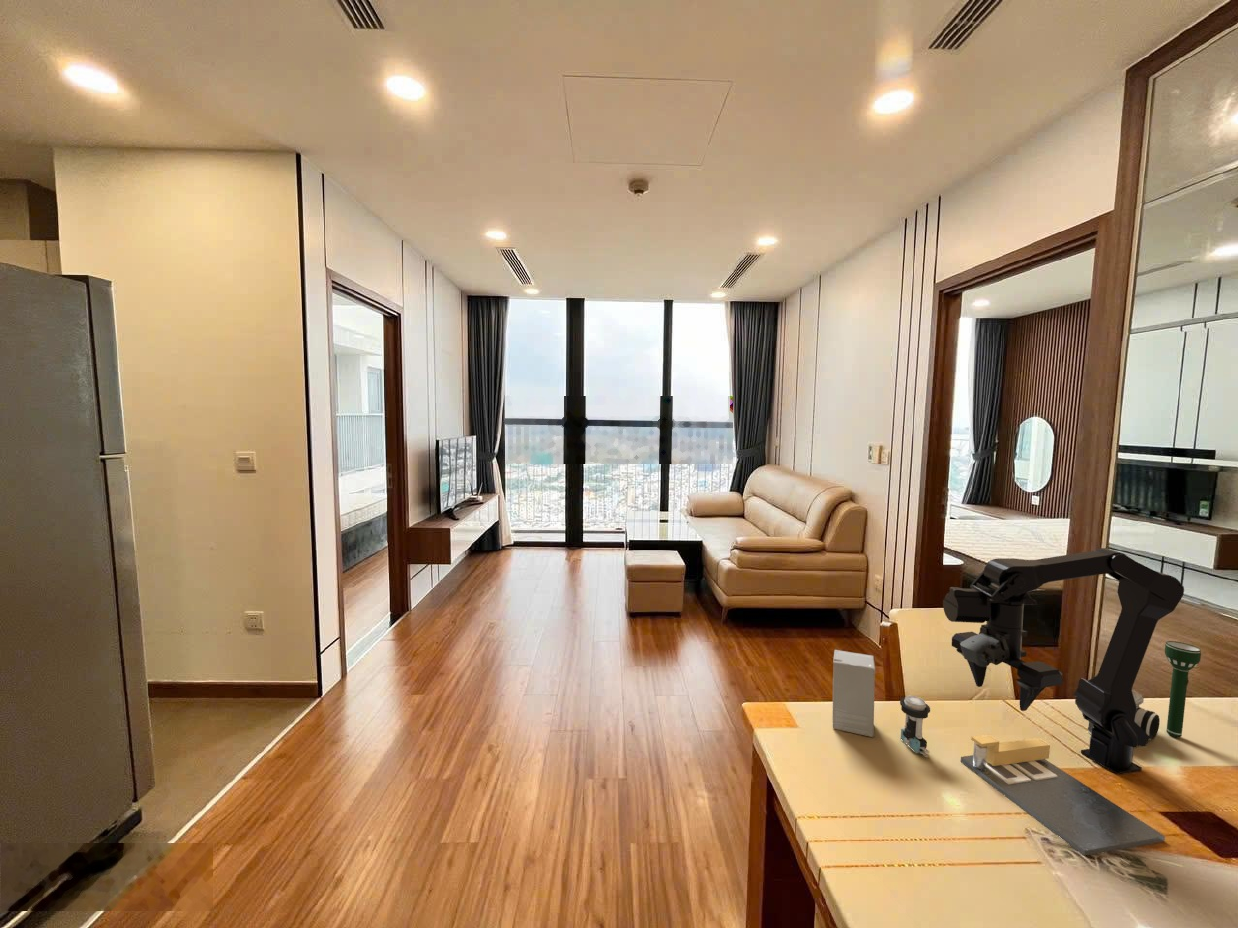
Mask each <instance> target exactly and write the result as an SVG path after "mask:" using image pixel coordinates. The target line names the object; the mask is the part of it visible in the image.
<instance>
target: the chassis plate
mask: <svg viewBox="0 0 1238 928" xmlns="http://www.w3.org/2000/svg"><path fill="white" fill-rule="evenodd" d="M1035 761H1036V762H1037V763H1039V764H1040V765H1042V766H1043V767H1045V768H1046V769H1048V770H1050V771H1051V772H1053V773H1054V774H1056V775H1057V777H1055V778H1049V779H1042V780H1034V779H1032V778H1031V777H1030V776H1028V775H1027V774H1025V773H1024V772H1022V771H1021V770H1020V769H1018V768H1017V767H1015V766H1014V765H1012V764H1009V765H1011V766H1012V767H1014V768H1015V769H1017V770H1018V771H1019V772H1021V773H1022V774H1024V775H1025V776H1027V777H1028V778H1029V779H1031V781H1028V782H1021V783H1015V784H1007V783H1006V782H1004V781H1003V780H1002V779H1000V778H999V777H998V776H996V775H995V774H994V773H992V772H991V771H990V770H988V769H987V768H985V770H979V769H977V768H975V767H974V766H973V754H972V755H964V756H961V757H960V762H961V763H962V764H963V765H964V766H966V767H967V768H968V769H970V770H971V771H973V772H974V773H975V774H976V775H977V776H978V777H980V778H981V779H982V780H984V781H985V782H986V783H988V784H989V785H990V786H992V787H993V788H994V789H995V790H997V791H998V792H999V793H1001V794H1002V795H1003V796H1004V797H1006V798H1008V799H1009V800H1010V801H1011V802H1012V803H1014V804H1015V805H1016V806H1017V807H1019V808H1020V809H1022V810H1023V811H1025V812H1026V813H1027V814H1028V815H1029V816H1030V817H1032V818H1034V819H1035V820H1036V821H1037V822H1039V823H1040V824H1041V825H1042V826H1044V827H1045V828H1047V829H1048V831H1049V830H1050V832H1052V833H1053V834H1054V835H1056V836H1057V835H1058V836H1057V837H1059V836H1060V837H1061V838H1062V839H1064V840H1065V841H1066V842H1068V843H1069V844H1070V845H1071V846H1070V845H1069V844H1068V843H1067V844H1068V845H1069V846H1070V847H1072V846H1073V847H1074V848H1075V849H1074V848H1073V847H1072V848H1073V849H1074V850H1076V851H1077V852H1078V851H1079V854H1081V855H1082V856H1084V857H1086V855H1087V856H1092V855H1098V854H1103V853H1102V852H1104V853H1107V852H1113V851H1114V852H1115V851H1120V850H1125V849H1131V848H1134V847H1135V848H1136V847H1141V846H1146V845H1152V844H1153V845H1154V844H1158V843H1163V842H1165V840H1166V839H1165V838H1166V836H1165V835H1164V834H1163V833H1161V832H1159V831H1157V830H1156V829H1155V828H1153V827H1151V826H1150V825H1149V824H1147V823H1146V822H1143V820H1141V819H1139V818H1137V817H1136V816H1134V815H1133V814H1132V813H1130V812H1129V811H1126V810H1125V809H1124V808H1122V807H1121V806H1119V805H1118V804H1116V803H1115V802H1113V801H1111V800H1110V799H1108V798H1106V797H1105V796H1103V794H1100V793H1099V792H1097V791H1096V790H1094V789H1092V788H1091V787H1090V786H1088V785H1086V784H1084V783H1083V782H1082V781H1080V780H1078V779H1077V778H1075V777H1073V776H1072V775H1071V774H1069V773H1067V772H1066V771H1064V770H1063V769H1061V768H1060V767H1058V765H1055V764H1053V763H1052V762H1050V761H1049V760H1047V759H1042V760H1035ZM1060 837H1059V838H1060ZM1061 838H1060V839H1061ZM1062 839H1061V840H1062ZM1064 840H1063V841H1064ZM1065 841H1064V842H1065ZM1066 842H1065V843H1066ZM1091 854H1092V855H1091Z"/></svg>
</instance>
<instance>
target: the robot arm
mask: <svg viewBox="0 0 1238 928" xmlns="http://www.w3.org/2000/svg"><path fill="white" fill-rule="evenodd" d="M1106 574H1107V575H1108V576H1109V577H1110V578H1113V579H1114V580H1116V581H1118V585H1117V595H1118V598H1119V599H1118V600H1119V602H1120V606H1121V610H1120V612H1119V613H1120V614H1119V616H1118V619H1117V621H1116V624H1115V627H1114V630H1113V632H1112V634H1111V635H1112V636H1111V637H1110V641H1109V643H1108V646H1107V649H1106V652H1105V653H1104V656H1103V660H1102V662H1101V665H1100V668H1099V671H1098V673H1097V674H1096V675H1095V676H1093V677H1092V678H1090V679H1088V680H1087V679H1086V678H1083V677H1080V679H1079V680H1078V684H1077V688H1076V690H1075V691H1074V692H1073V694H1072V695H1073V696H1074V697H1075V698H1074V702H1075V705H1076V707H1077V708H1078V710H1079V711H1080V712H1081V713H1082V717H1083V719H1084V720H1086V721H1088V723H1089V722H1090V723H1092V724H1093V728H1092V731H1091V735H1090V738H1089V748H1086V749H1080V753H1081V754H1082V755H1083V756H1084V757H1087V758H1088V759H1090V760H1091V761H1094V762H1095V763H1097V764H1099V765H1101V766H1102V767H1104V768H1106V769H1107V770H1109V771H1111V772H1112V773H1114V774H1118V775H1119V774H1126V773H1127V774H1128V773H1132V772H1138V771H1140V772H1141V771H1142V769H1143V768H1142V766H1141V765H1138V764H1137V763H1135V762H1133V759H1134V749H1135V748H1136V749H1137V748H1138V747H1146V746H1147V743H1148V742H1149V741H1150V740H1149V739H1150V736H1149V735H1148V734H1147V733H1146V732H1145V731H1144V730H1143V729H1142V728H1141V727H1140V726H1139V725H1138V724H1137V723H1136V722H1135V715H1136V709H1137V707H1136V703H1135V700H1134V696H1133V692H1132V689H1133V686H1134V684H1135V681H1136V679H1137V676H1138V674H1139V671H1140V668H1141V666H1142V663H1143V661H1144V658H1145V655H1146V653H1147V649H1148V648H1149V645H1150V643H1151V639H1152V636H1153V634H1154V632H1155V628H1156V626H1157V623H1158V621H1160V620H1161V619H1162V618H1164V617H1166V616H1167V615H1169V614H1171V613H1173V612H1174V611H1175V610H1176V608H1177V607H1178V605H1179V603H1180V601H1181V600H1182V598H1183V597H1184V593H1185V587H1184V585H1183V584H1182V583H1181V581H1180V580H1179V579H1178V578H1177V577H1175V576H1172V575H1169V574H1166V573H1163V572H1160V571H1157V570H1154V569H1151V568H1150V567H1148V566H1146V565H1144V564H1142V563H1140V562H1138V561H1136V560H1135V559H1132V557H1130V556H1128V555H1127V554H1125V553H1123V552H1119V551H1116V550H1113V549H1110V548H1106V547H1101V548H1097V549H1094V550H1089V551H1088V550H1087V551H1084V552H1076V553H1071V554H1064V555H1056V556H1052V557H1044V558H1039V559H1022V558H1009V557H1008V558H1001V557H1000V558H993V559H990V560H989V561H987V564H985V566H984V568H983V571H982V572H981V573H980V574H979V575H978V576H977V577H976V578H975V579H974V581H973V582H972V583H971V584H970V585H969V587H970V588H965V587H964V588H961V587H956V586H950V587H949V591H948V592H947V593H946V594H945V596H944V599H943V600H942V607H943V608H942V609H943V611H944V612H943V613H944V615H945V617H946V618H947V619H948V621H949V622H954V623H971V624H972V623H974V624H975V623H977V624H981V625H980V626H981V627H980V628H979V632H978V633H976V632H973V631H966V632H958V633H954V634H953V636H952V637H951V647H953V648H955V649H956V653H958V654H960V655H961V656H963V658H964V659H965V660H966V661H967V664H968V666H969V669H970V671H971V673H972V677H973V680H974V683H975V686H976V687H977V688H981V687H983V685H984V682H985V678H986V673H987V668H988V666H990V664H992V665H995V666H998V665H1000V664H1001V663H1004V664H1006V665H1008V666H1009V667H1013V668H1014V669H1016V670H1017V672H1016V675H1017V676H1018V678H1016V679H1015V681H1016V683H1017V684H1018V685H1019V686H1020V687H1019V688H1020V689H1019V709H1020V711H1021V712H1025V711H1027V710H1028V709H1029V708H1030V707H1031V705H1032V704H1033V703H1034V701H1035V700H1036V698H1037V697H1038V696H1039V695H1040V694H1041V692H1043V691H1044V690H1045V689H1046V688H1049V687H1056V686H1062V685H1063V678H1064V677H1063V676H1064V675H1063V672H1061V671H1060V670H1059V669H1058V668H1056V667H1054V666H1052V665H1049V664H1047V663H1045V662H1043V661H1040V660H1038V661H1031V662H1027V661H1024V660H1023V659H1021V658H1024V657H1025V658H1026V657H1027V651H1026V650H1023V649H1022V643H1023V638H1027V637H1028V631H1027V630H1024V629H1023V624H1024V623H1023V621H1024V607H1025V605H1032V606H1033V605H1034V606H1035V605H1038V604H1037V603H1038V602H1037V601H1036V600H1035V599H1033V597H1032V596H1030V595H1029V592H1033V591H1037V590H1038V589H1040V587H1042V586H1043V585H1045V584H1048V583H1053V582H1060V581H1065V580H1074V579H1079V578H1087V577H1092V576H1099V575H1106ZM991 586H993V587H995V588H997V589H995V588H993V587H991ZM984 623H986V624H984Z"/></svg>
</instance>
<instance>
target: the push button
mask: <svg viewBox="0 0 1238 928" xmlns="http://www.w3.org/2000/svg"><path fill="white" fill-rule="evenodd" d="M899 704H900V706H901V708H900V709H901V711H902V712H903V713H904V714H905V724H904V728H901V729H900V740H901V739H902V740H903V741H904V743H903V745H904V744H905V745H906V743H907V745H906V746H907V747H908V745H909V746H910V747H911V748H912V749H913V750H914V751H915V752H916V753H919V754H922V755H923V757H925V758H929V757H930V756H929V753H930V751H929V750H928V749H927V746H928V744H927V743H928V742H927V740H926V739H925V737H923V724H924V723H923V722H924V721H923V720H924V719H926V718H929V713H931V707H930V705H928V704H927V703H926V701H925V699H922V698H921V697H918V696H916V695H906V696H905V697H904V698H901V699H899ZM905 745H904V746H905ZM906 746H905V747H906ZM907 747H906V748H907ZM908 748H909V747H908ZM913 750H912V751H913ZM914 751H913V752H914ZM915 752H914V753H915ZM916 753H915V754H916Z"/></svg>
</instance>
